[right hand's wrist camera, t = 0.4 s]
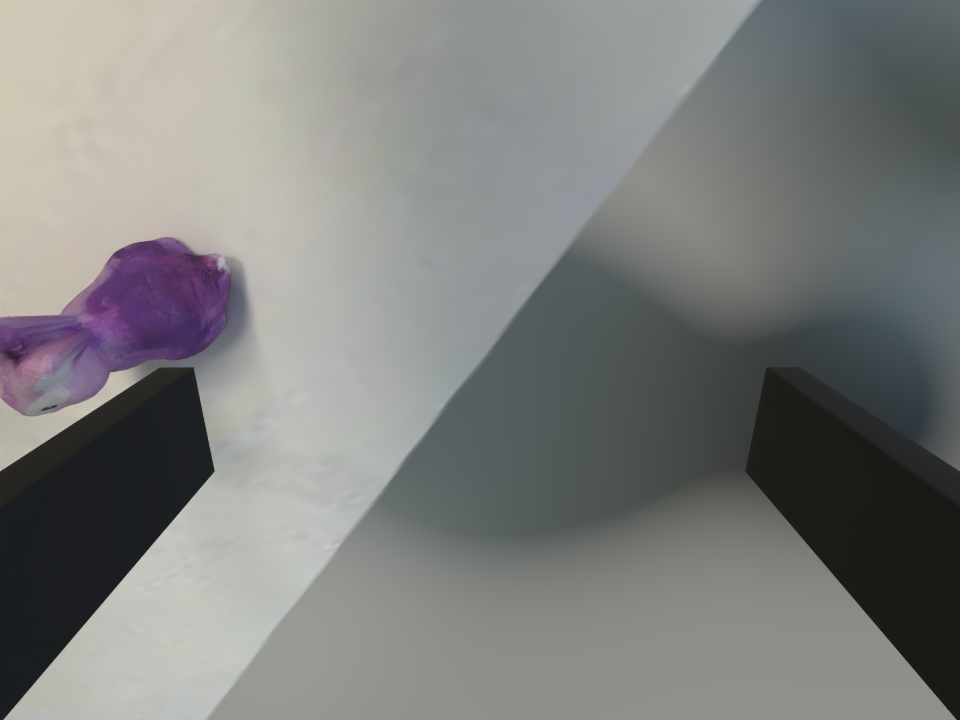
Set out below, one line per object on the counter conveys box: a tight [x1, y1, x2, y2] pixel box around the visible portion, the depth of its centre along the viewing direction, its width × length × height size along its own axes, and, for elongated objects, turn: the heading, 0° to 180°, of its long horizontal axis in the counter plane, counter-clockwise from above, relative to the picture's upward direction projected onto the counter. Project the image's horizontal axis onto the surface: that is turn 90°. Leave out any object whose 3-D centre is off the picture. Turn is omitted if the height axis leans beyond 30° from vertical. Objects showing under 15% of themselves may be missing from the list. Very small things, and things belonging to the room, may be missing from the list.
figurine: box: [0, 237, 231, 416], centre depth 33 cm, size 9×10×15 cm
